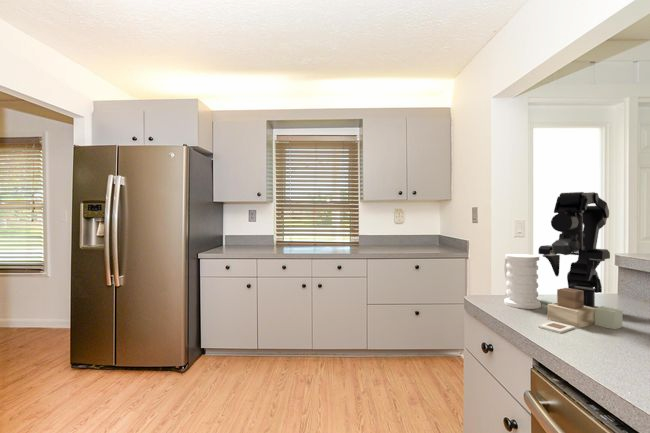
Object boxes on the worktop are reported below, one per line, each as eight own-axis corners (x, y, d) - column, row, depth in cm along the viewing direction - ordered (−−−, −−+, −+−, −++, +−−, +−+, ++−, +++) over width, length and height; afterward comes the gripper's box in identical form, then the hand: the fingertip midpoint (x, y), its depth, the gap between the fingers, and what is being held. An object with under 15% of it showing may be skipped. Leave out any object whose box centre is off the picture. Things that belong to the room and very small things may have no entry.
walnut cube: (566, 303, 112) (565, 287, 112) (583, 306, 108) (583, 290, 108) (557, 305, 110) (557, 289, 110) (575, 309, 105) (574, 292, 105)
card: (552, 322, 107) (552, 320, 107) (574, 328, 102) (574, 326, 102) (538, 327, 103) (538, 325, 103) (560, 333, 98) (560, 331, 98)
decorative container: (507, 299, 137) (506, 253, 137) (542, 303, 130) (541, 254, 130) (501, 305, 127) (501, 256, 127) (539, 310, 121) (539, 258, 120)
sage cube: (602, 322, 108) (602, 306, 108) (622, 326, 104) (622, 309, 104) (594, 325, 105) (594, 308, 105) (615, 329, 101) (614, 312, 101)
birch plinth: (566, 316, 115) (566, 301, 115) (596, 324, 106) (596, 308, 106) (547, 320, 111) (547, 304, 111) (577, 328, 103) (577, 311, 103)
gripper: (529, 230, 119) (529, 276, 119) (593, 232, 103) (593, 286, 103) (547, 229, 125) (547, 273, 125) (610, 231, 109) (610, 282, 109)
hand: (572, 278), depth 115 cm, fingers open, 9 cm apart
